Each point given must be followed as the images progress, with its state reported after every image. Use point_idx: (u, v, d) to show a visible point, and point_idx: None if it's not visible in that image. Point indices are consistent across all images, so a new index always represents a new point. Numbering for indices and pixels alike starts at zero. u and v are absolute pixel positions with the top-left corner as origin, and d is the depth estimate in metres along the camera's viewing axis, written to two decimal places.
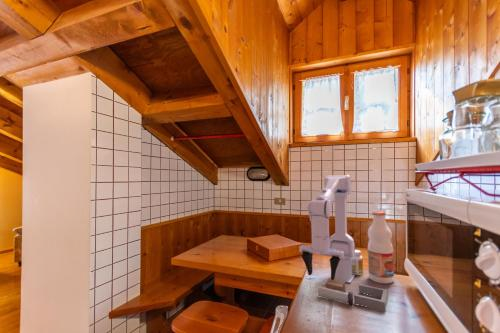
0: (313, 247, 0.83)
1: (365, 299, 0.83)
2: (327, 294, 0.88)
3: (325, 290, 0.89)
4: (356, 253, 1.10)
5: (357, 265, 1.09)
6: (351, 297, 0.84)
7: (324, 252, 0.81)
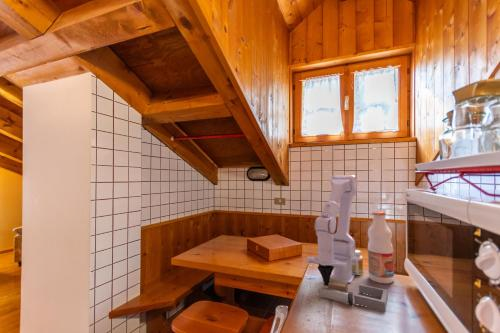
0: (319, 259, 0.95)
1: (365, 299, 0.83)
2: (327, 294, 0.88)
3: (325, 290, 0.89)
4: (356, 253, 1.10)
5: (357, 265, 1.09)
6: (351, 297, 0.84)
7: (329, 263, 0.92)
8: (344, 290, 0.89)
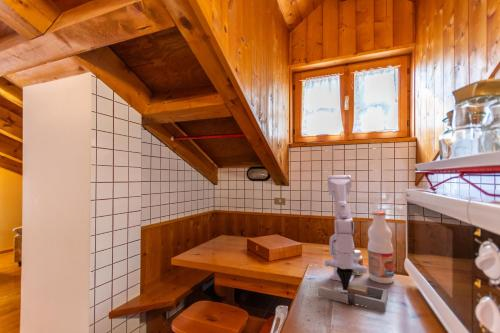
0: (338, 262, 0.91)
1: (365, 299, 0.83)
2: (327, 294, 0.88)
3: (325, 290, 0.89)
4: (356, 253, 1.10)
5: None
6: (351, 297, 0.84)
7: (349, 267, 0.89)
8: (364, 295, 0.85)
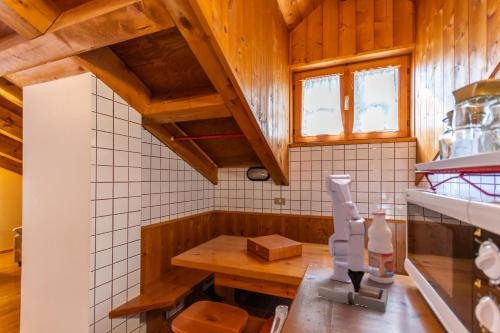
0: (349, 264, 0.89)
1: (365, 299, 0.83)
2: (327, 294, 0.88)
3: (325, 290, 0.89)
4: None
5: None
6: (351, 297, 0.84)
7: (361, 269, 0.87)
8: (377, 298, 0.83)
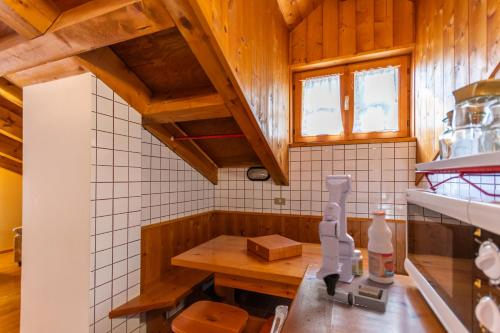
0: (333, 268, 0.85)
1: (365, 299, 0.83)
2: (327, 294, 0.88)
3: (325, 290, 0.89)
4: (356, 253, 1.10)
5: (357, 265, 1.09)
6: (351, 297, 0.84)
7: (339, 269, 0.87)
8: None
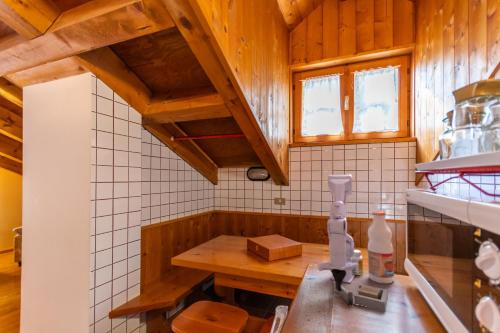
0: (335, 264, 0.89)
1: (365, 299, 0.83)
2: None
3: None
4: (356, 253, 1.10)
5: None
6: (350, 297, 0.84)
7: (346, 267, 0.89)
8: None
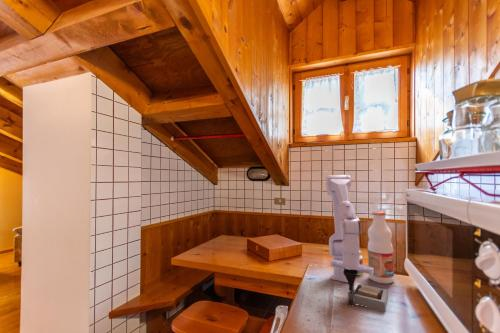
0: (344, 262, 0.90)
1: (365, 299, 0.83)
2: None
3: None
4: None
5: None
6: (348, 296, 0.84)
7: (354, 268, 0.88)
8: None
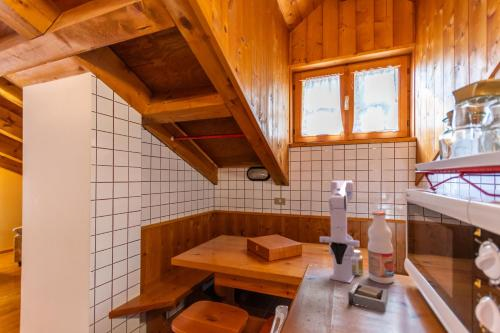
0: (332, 237, 0.95)
1: (365, 299, 0.83)
2: None
3: None
4: (356, 253, 1.10)
5: (357, 265, 1.09)
6: (348, 296, 0.84)
7: (342, 241, 0.92)
8: None
